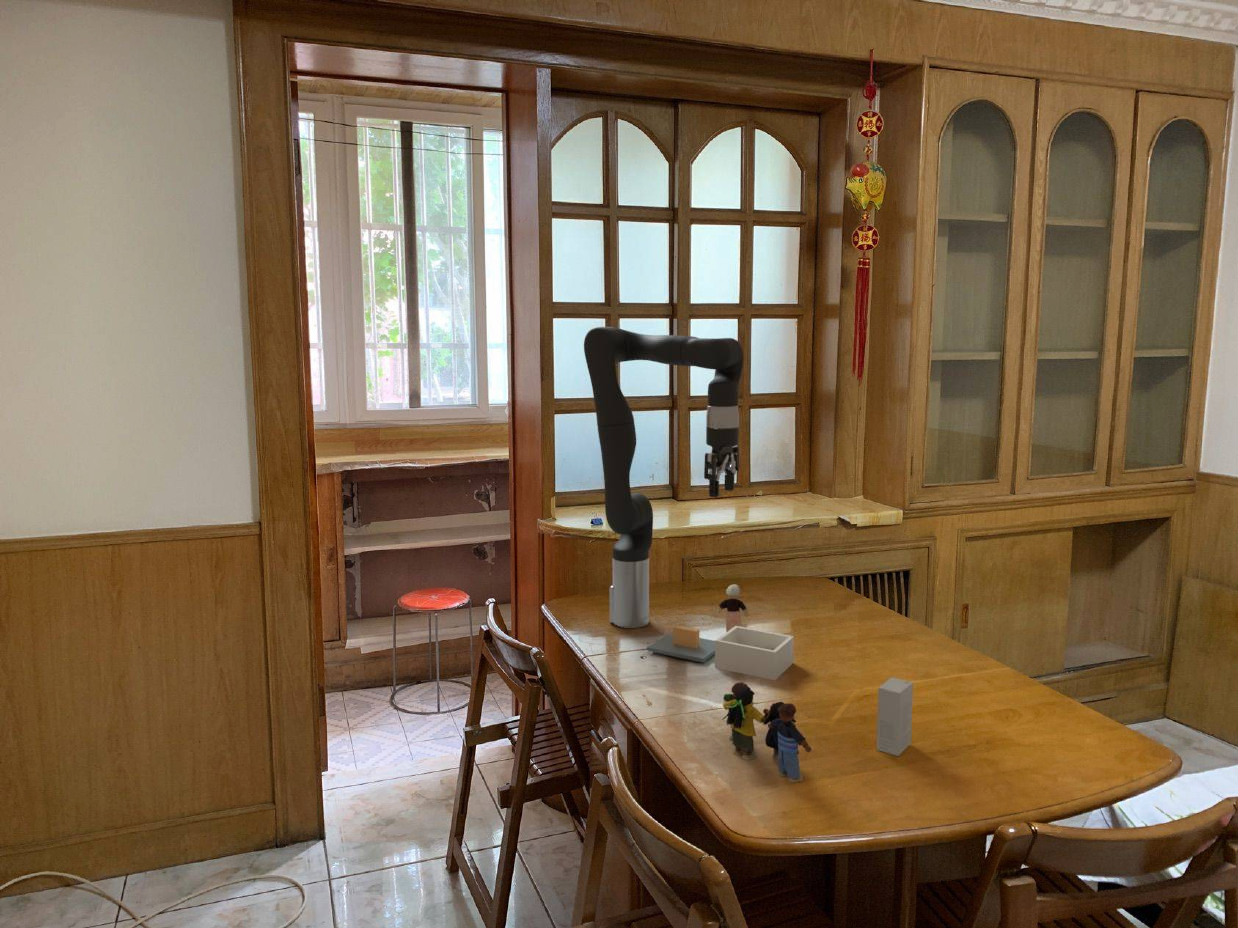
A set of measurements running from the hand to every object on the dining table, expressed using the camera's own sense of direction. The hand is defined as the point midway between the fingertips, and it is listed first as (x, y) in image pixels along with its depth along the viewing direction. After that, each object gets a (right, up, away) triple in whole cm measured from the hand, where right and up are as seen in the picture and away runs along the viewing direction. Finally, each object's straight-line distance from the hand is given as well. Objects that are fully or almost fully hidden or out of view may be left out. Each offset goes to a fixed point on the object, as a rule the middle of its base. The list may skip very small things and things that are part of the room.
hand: (721, 493), depth 210 cm
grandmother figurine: (+4, -35, +10) cm, 37 cm away
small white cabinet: (+6, -39, -12) cm, 41 cm away
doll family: (+1, -46, -53) cm, 70 cm away
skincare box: (+25, -45, -48) cm, 71 cm away
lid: (-9, -37, -3) cm, 38 cm away
